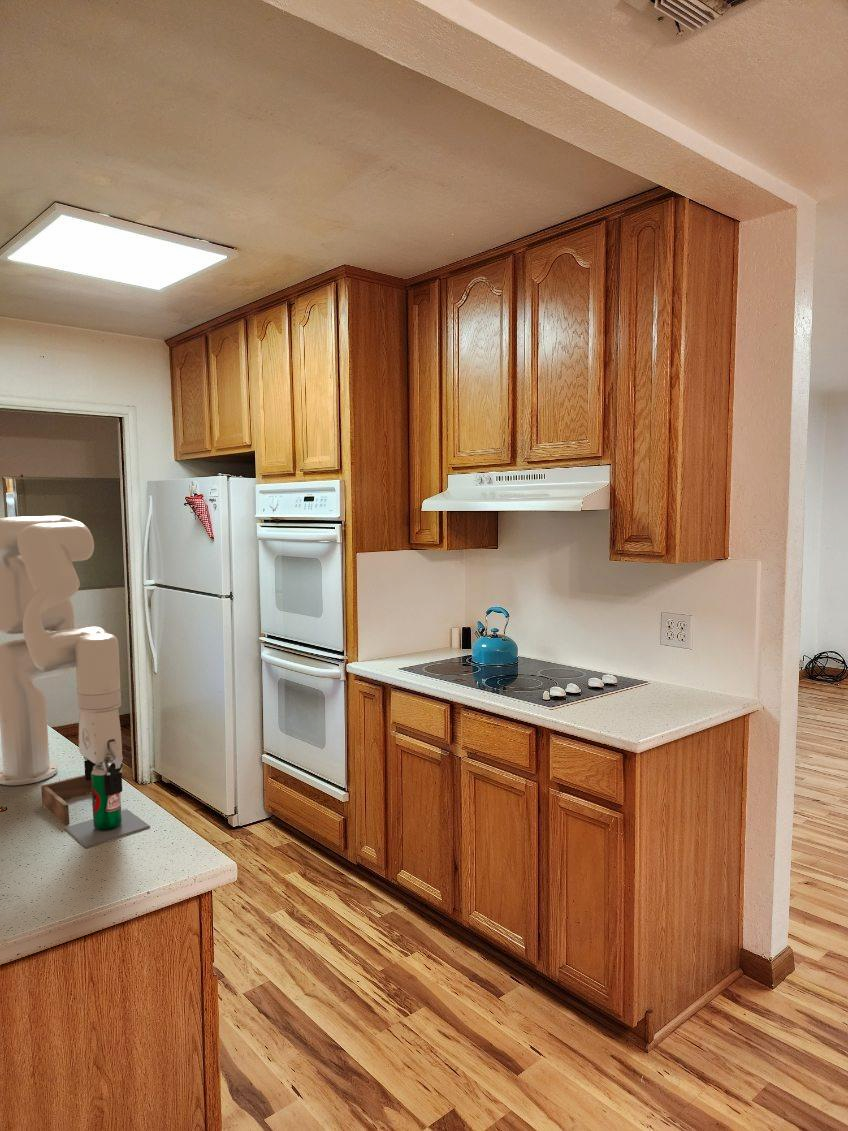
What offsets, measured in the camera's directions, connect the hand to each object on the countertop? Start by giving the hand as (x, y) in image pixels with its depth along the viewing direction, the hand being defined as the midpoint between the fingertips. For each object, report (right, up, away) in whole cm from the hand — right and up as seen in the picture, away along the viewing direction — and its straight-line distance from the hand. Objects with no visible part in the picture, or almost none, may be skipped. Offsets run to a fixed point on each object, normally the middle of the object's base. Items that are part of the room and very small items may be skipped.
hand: (103, 786), depth 146 cm
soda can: (+1, -8, 0) cm, 8 cm away
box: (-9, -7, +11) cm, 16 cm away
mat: (+1, -8, 0) cm, 8 cm away
